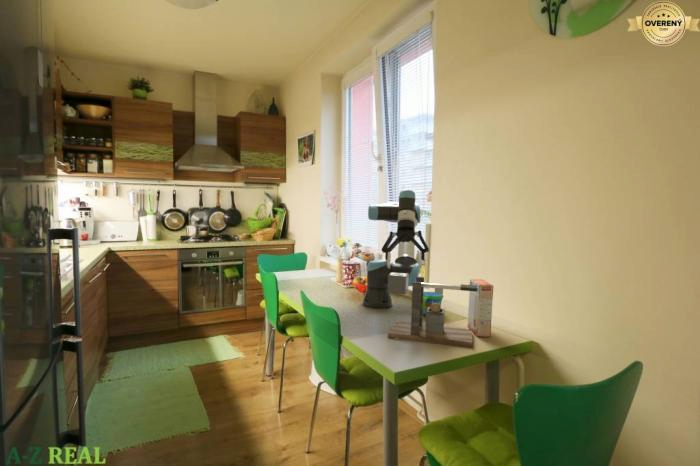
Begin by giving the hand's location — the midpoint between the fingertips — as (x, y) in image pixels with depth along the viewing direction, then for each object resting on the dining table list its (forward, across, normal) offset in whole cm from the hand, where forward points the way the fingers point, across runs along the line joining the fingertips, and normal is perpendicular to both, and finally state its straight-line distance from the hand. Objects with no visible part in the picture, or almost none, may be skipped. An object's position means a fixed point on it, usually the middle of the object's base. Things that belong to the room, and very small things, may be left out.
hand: (404, 267), depth 164 cm
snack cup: (+13, +8, +32) cm, 35 cm away
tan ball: (+20, +13, -1) cm, 24 cm away
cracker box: (+23, +29, +16) cm, 40 cm away
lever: (+13, +12, -5) cm, 18 cm away
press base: (+28, +11, +3) cm, 30 cm away
